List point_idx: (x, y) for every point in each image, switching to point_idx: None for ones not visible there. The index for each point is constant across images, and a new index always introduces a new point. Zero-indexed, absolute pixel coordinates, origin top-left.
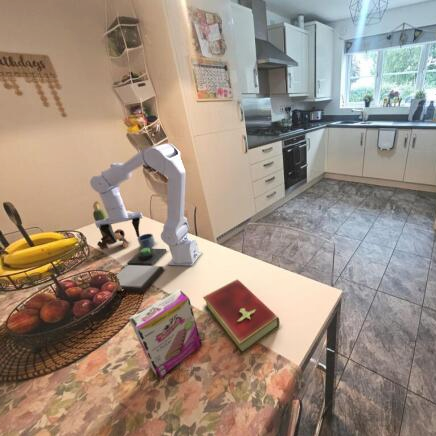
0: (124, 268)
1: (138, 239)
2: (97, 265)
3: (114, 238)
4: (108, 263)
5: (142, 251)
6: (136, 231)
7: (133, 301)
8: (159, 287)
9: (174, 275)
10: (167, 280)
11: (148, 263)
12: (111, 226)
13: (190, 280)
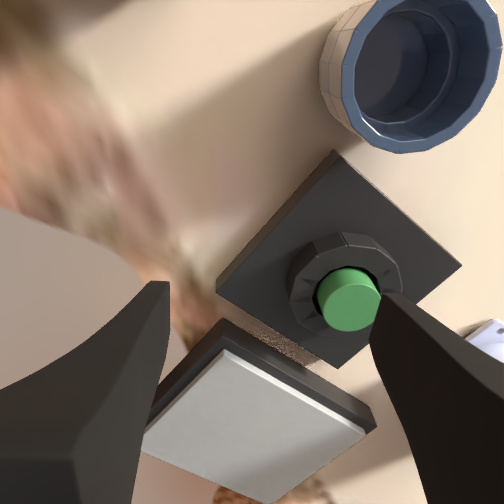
0: (207, 376)
1: (348, 91)
2: (7, 155)
3: (159, 375)
4: (85, 175)
5: (331, 322)
6: (406, 415)
7: (234, 498)
8: (322, 480)
9: (391, 450)
10: (358, 462)
11: (325, 361)
12: (112, 399)
13: (423, 492)
